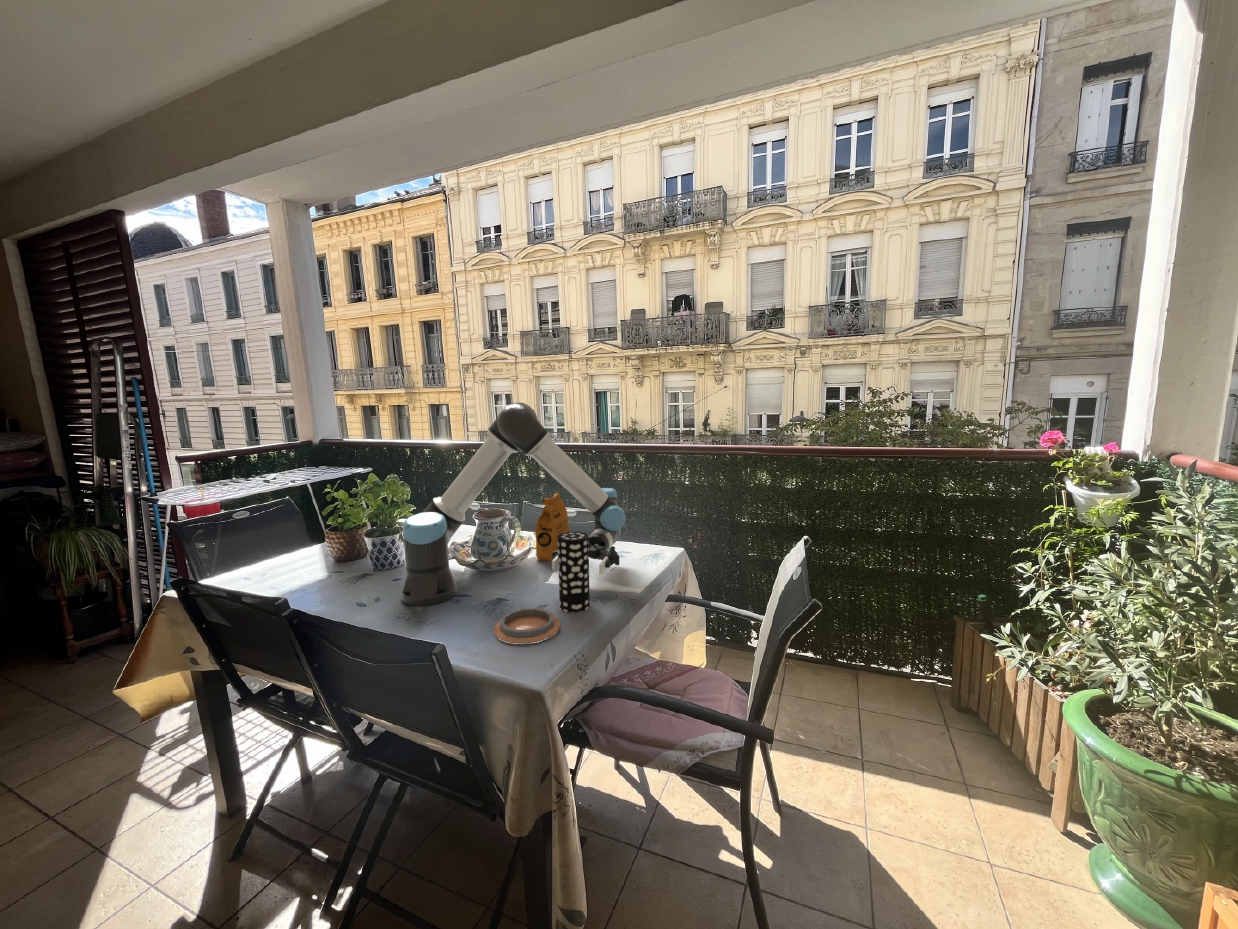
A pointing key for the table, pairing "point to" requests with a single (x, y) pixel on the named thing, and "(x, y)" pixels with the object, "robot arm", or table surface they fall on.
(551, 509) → the coffee package
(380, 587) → the table surface
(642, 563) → the table surface
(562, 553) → the white-spotted black cylinder
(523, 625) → the collar plate
